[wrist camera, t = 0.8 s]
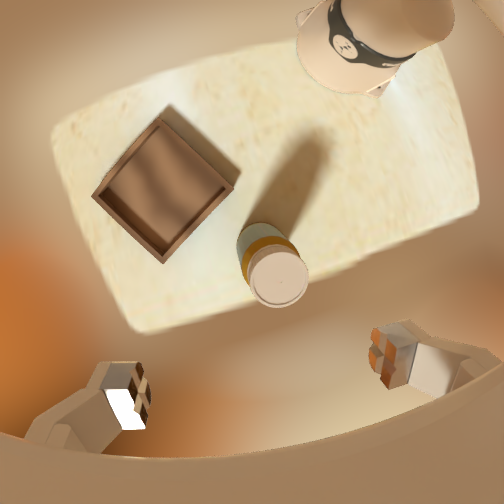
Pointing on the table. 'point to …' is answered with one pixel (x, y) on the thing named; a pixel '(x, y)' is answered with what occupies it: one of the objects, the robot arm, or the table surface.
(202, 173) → the serving tray
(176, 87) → the table surface
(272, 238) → the bottle
